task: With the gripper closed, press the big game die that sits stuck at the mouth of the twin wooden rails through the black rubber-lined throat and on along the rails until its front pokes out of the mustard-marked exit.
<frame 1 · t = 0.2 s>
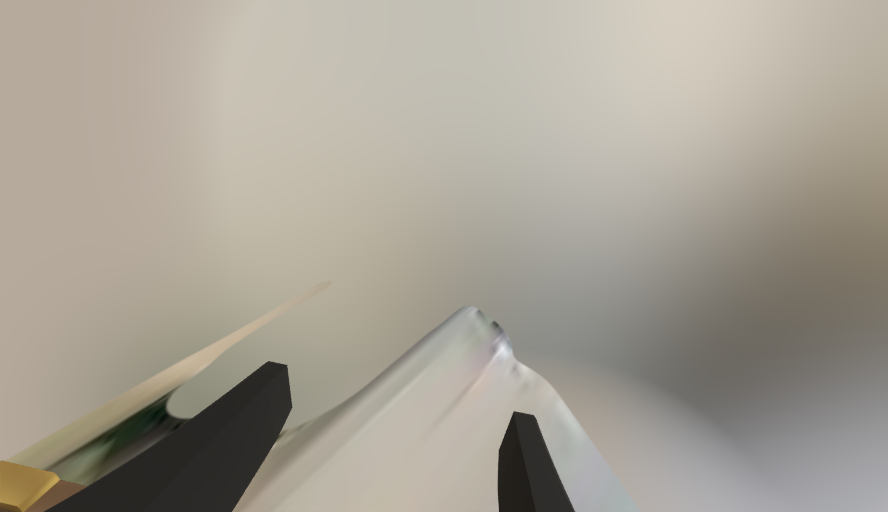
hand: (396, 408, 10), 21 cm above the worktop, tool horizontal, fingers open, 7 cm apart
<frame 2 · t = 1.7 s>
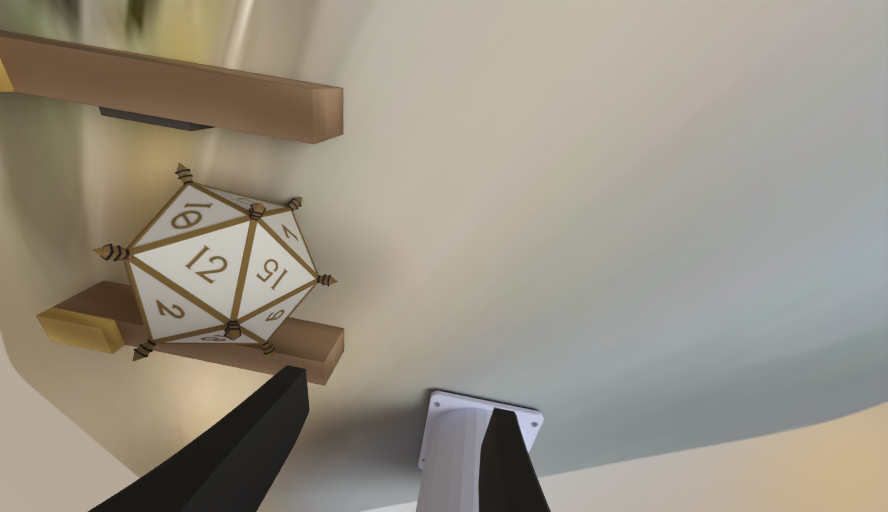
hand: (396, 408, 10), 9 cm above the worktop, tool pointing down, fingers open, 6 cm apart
game die: (279, 232, 19), on the worktop
twin wooden rails: (202, 220, 19), on the worktop
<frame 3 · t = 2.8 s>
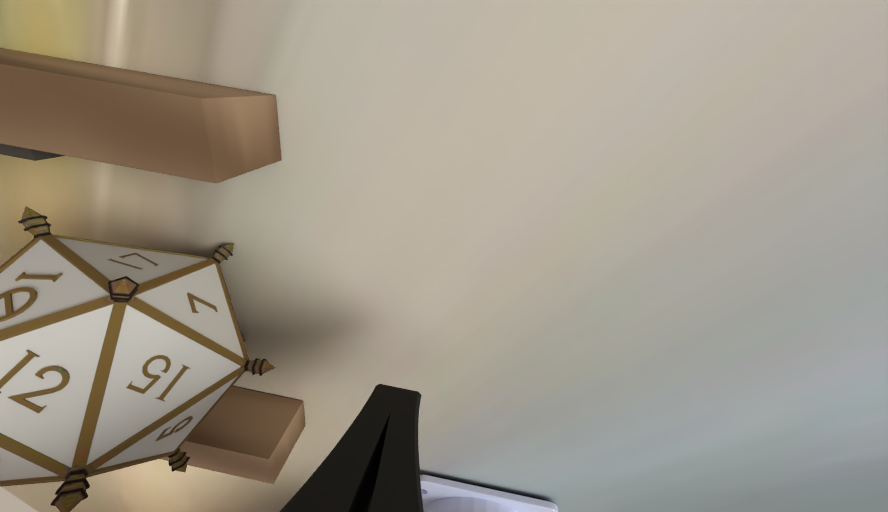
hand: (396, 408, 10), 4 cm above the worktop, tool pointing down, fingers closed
game die: (210, 285, 14), on the worktop
twin wooden rails: (108, 268, 14), on the worktop
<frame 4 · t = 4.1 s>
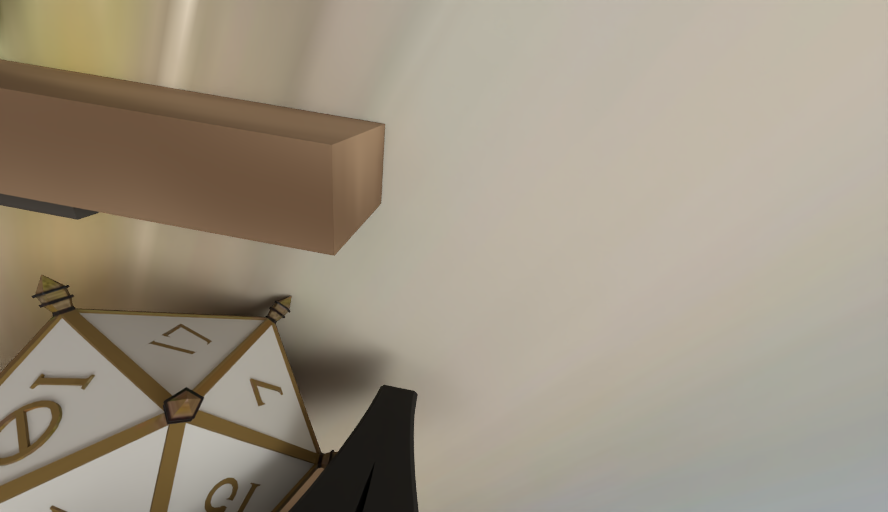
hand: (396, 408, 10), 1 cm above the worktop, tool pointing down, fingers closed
game die: (256, 340, 12), on the worktop, touching gripper
twin wooden rails: (147, 322, 12), on the worktop
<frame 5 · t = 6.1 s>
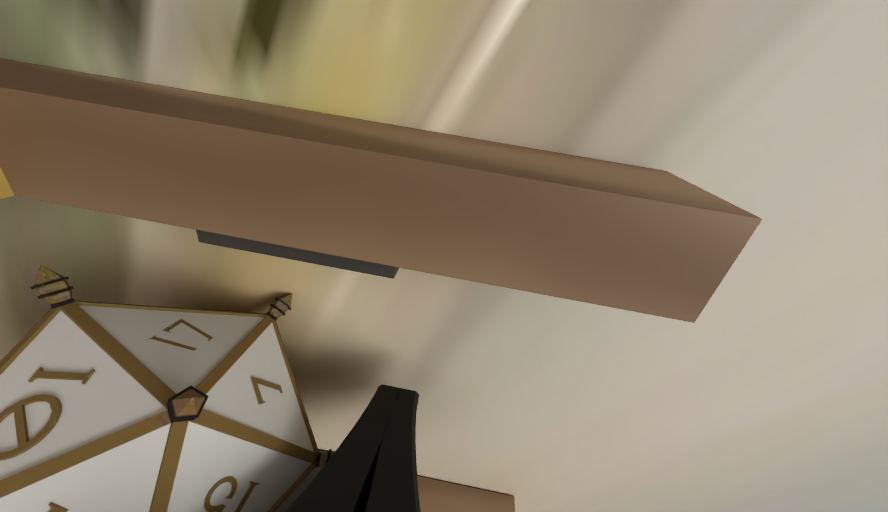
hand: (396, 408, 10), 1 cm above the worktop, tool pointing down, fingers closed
game die: (254, 336, 12), on the worktop, touching gripper
twin wooden rails: (321, 357, 12), on the worktop
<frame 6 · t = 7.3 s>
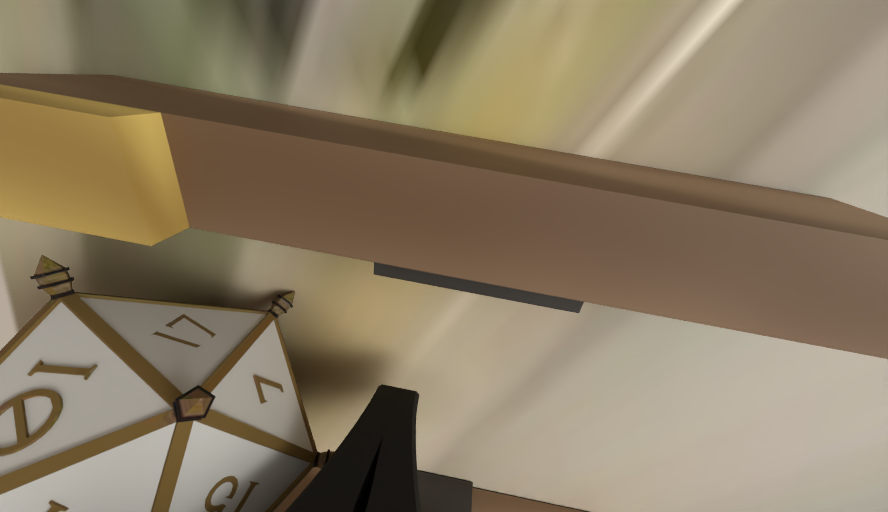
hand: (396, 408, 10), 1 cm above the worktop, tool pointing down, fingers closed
game die: (252, 332, 12), on the worktop, touching gripper
twin wooden rails: (419, 376, 12), on the worktop
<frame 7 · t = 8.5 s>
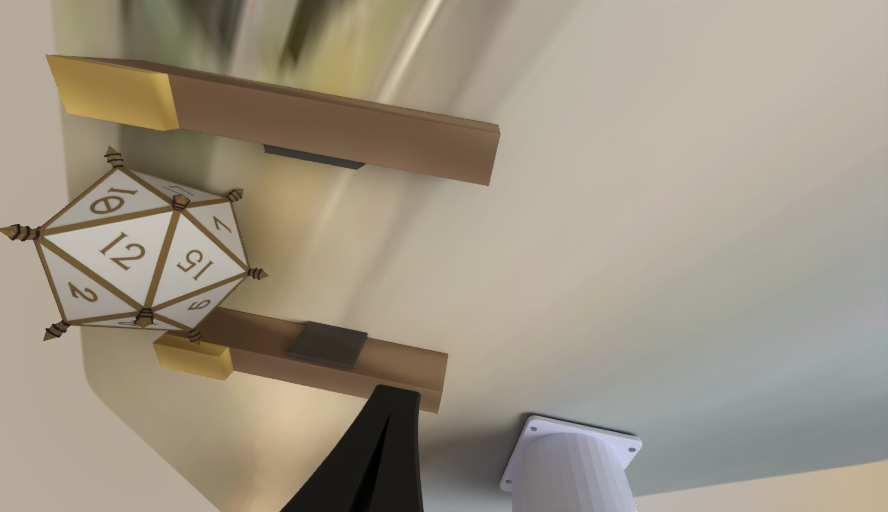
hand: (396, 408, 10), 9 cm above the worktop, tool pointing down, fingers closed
game die: (220, 221, 19), on the worktop
twin wooden rails: (321, 247, 19), on the worktop
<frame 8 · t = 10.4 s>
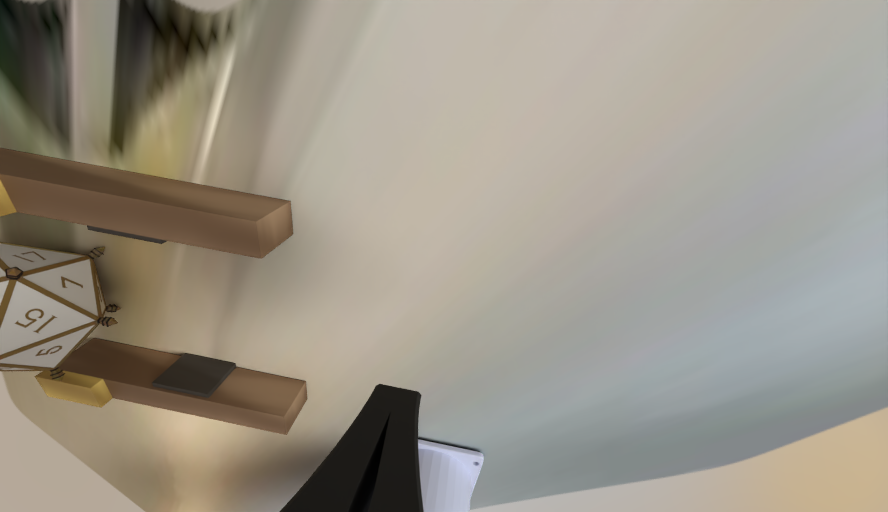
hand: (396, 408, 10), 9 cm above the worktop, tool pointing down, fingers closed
game die: (94, 271, 22), on the worktop
twin wooden rails: (178, 293, 22), on the worktop
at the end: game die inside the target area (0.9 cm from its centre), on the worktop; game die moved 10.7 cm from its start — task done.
